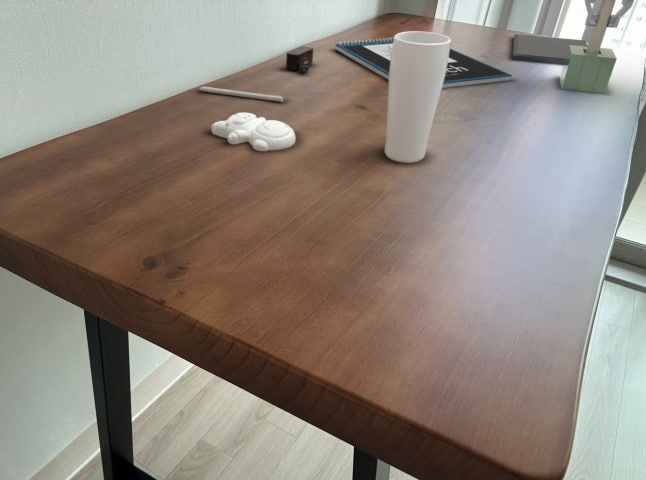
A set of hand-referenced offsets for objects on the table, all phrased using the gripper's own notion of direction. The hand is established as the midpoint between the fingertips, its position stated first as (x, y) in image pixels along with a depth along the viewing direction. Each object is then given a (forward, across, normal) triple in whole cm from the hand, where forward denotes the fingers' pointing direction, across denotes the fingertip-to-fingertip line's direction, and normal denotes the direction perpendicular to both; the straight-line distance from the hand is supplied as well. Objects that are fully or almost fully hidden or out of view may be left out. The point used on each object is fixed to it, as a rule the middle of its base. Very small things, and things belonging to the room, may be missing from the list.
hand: (600, 26), depth 98 cm
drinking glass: (+10, +25, +44) cm, 51 cm away
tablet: (+10, +4, -24) cm, 26 cm away
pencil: (+10, +54, +29) cm, 63 cm away
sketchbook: (+10, +30, -2) cm, 32 cm away
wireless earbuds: (+10, +50, +10) cm, 52 cm away
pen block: (+10, 0, 0) cm, 10 cm away
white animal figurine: (+10, +46, +44) cm, 65 cm away
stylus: (+10, 0, 0) cm, 10 cm away
